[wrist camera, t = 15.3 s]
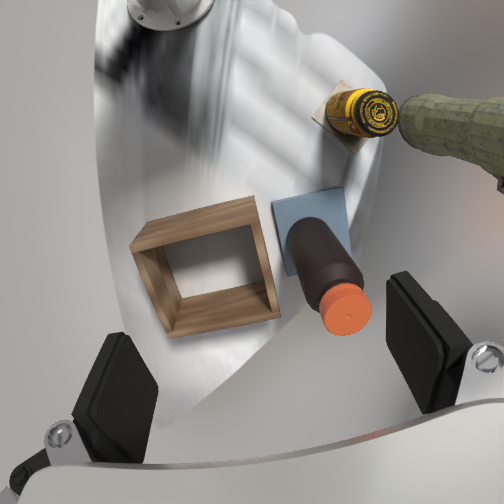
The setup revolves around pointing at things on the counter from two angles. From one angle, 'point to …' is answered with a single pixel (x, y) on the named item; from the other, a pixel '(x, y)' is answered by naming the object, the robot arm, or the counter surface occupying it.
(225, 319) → the crate
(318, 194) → the mat
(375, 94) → the condiment
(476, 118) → the thermos
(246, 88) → the counter surface
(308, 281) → the vinegar
